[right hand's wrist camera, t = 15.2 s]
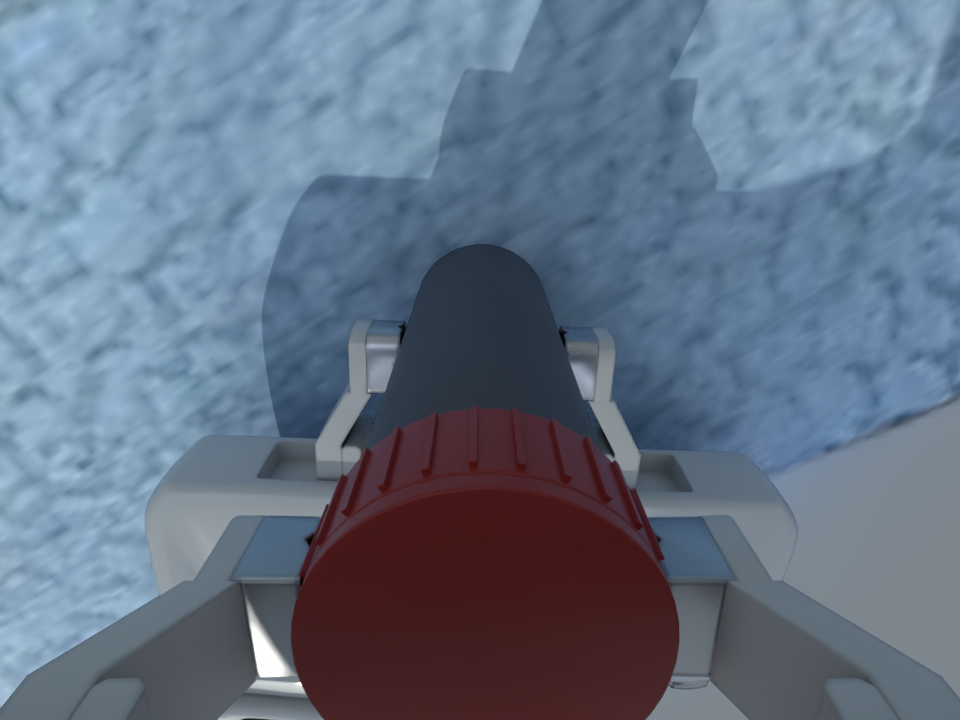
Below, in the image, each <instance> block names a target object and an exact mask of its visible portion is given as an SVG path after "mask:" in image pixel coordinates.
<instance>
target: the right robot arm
mask: <svg viewBox="0 0 960 720" xmlns="http://www.w3.org/2000/svg"><path fill="white" fill-rule="evenodd" d="M320 520H321V517H317V516H270V515H268V516H265V515H238V516H236V517H234V518H232V519H231V521H230V522H229V524H228V525H227V527H226V529H225V530H224V532H223V534H222V535H221V537H220V538H219V540H218V542H217V543H216V545H215V546H214V548H213V550H212V551H211V553H210V555H209V556H208V558H207V559H206V561H205V563H204V564H203V566H202V567H201V569H200V571H199V572H198V574H197V576H196V577H195V579H194V580H193V581H183V582H181V583H180V584H178V585H176V586H175V587H173V588H171V589H170V590H168V591H166V592H165V593H163V594H161V595H160V596H158V597H156V598H155V599H153V600H151V601H150V602H148V603H146V604H145V605H143V606H141V607H140V608H138V609H137V610H135V611H133V612H132V613H130V614H128V615H127V616H125V617H123V618H122V619H120V620H118V621H117V622H115V623H113V624H112V625H110V626H108V627H107V628H105V629H103V630H102V631H100V632H98V633H97V634H95V635H93V636H92V637H90V638H88V639H87V640H85V641H84V642H82V643H80V644H79V645H77V646H75V647H74V648H72V649H70V650H69V651H67V652H65V653H64V654H62V655H60V656H59V657H57V658H55V659H54V660H52V661H50V662H49V663H47V664H45V665H44V666H42V667H40V668H39V669H37V670H35V671H34V672H32V673H31V674H29V675H27V676H26V678H25V679H24V680H23V681H22V683H21V684H20V685H19V686H18V687H17V689H16V690H15V691H14V692H13V694H12V695H11V696H10V697H9V699H8V700H7V701H6V702H5V704H4V705H3V706H2V707H1V708H0V720H217V719H218V718H219V717H220V716H221V715H222V714H223V713H224V712H225V711H226V710H227V709H228V708H229V707H230V706H231V705H232V704H233V703H234V702H235V701H236V700H237V699H238V698H239V697H240V696H241V695H242V694H243V693H244V692H245V691H246V690H247V689H248V688H249V687H250V686H251V685H252V684H253V683H254V682H255V681H256V677H284V676H298V675H297V672H296V669H295V665H294V661H293V654H292V648H291V621H292V616H293V611H294V606H295V602H296V599H297V597H298V594H299V591H300V589H301V586H302V583H303V581H304V578H301V576H299V574H300V571H301V568H302V566H303V563H304V561H305V558H306V555H307V553H308V550H309V548H310V545H311V543H312V540H313V538H314V535H315V532H316V530H317V527H318V525H319V522H320ZM648 520H649V522H650V524H651V527H652V529H653V532H654V534H655V536H656V539H657V541H658V544H659V546H660V548H661V551H662V553H663V556H664V558H665V559H664V560H662V561H659V562H660V564H661V567H662V569H663V572H664V574H665V577H666V579H667V582H668V584H669V587H670V589H671V592H672V595H673V597H674V600H675V603H676V608H677V613H678V618H679V635H680V642H679V649H678V656H677V662H676V665H675V668H674V671H673V675H672V676H680V677H710V681H711V682H712V683H713V684H714V685H715V686H716V687H717V688H718V689H719V690H720V691H721V692H722V693H723V694H724V695H725V696H726V697H727V698H728V699H729V700H730V701H731V702H732V703H733V704H734V705H735V706H736V707H737V708H738V709H739V710H740V711H741V712H742V713H743V714H744V715H745V716H746V717H747V718H748V719H749V720H960V698H959V697H958V696H957V694H956V693H955V692H954V691H953V689H952V688H951V687H950V686H949V685H948V683H947V682H946V681H945V680H944V678H943V677H942V676H940V675H939V674H937V673H935V672H934V671H932V670H930V669H929V668H927V667H925V666H924V665H922V664H920V663H919V662H917V661H915V660H914V659H912V658H910V657H909V656H907V655H905V654H904V653H902V652H900V651H898V650H897V649H895V648H894V647H892V646H890V645H888V644H887V643H885V642H884V641H882V640H880V639H879V638H877V637H875V636H873V635H872V634H870V633H869V632H867V631H865V630H864V629H862V628H860V627H859V626H857V625H855V624H854V623H852V622H850V621H849V620H847V619H845V618H843V617H842V616H840V615H839V614H837V613H835V612H833V611H832V610H830V609H829V608H827V607H825V606H823V605H822V604H820V603H819V602H817V601H815V600H813V599H812V598H810V597H809V596H807V595H805V594H804V593H802V592H800V591H799V590H797V589H795V588H794V587H792V586H790V585H789V584H787V583H785V582H784V581H773V580H772V578H771V577H770V575H769V574H768V572H767V570H766V569H765V567H764V566H763V564H762V563H761V561H760V560H759V558H758V556H757V555H756V553H755V552H754V550H753V549H752V547H751V545H750V544H749V542H748V541H747V539H746V538H745V536H744V534H743V533H742V531H741V530H740V528H739V527H738V525H737V524H736V522H735V520H734V519H733V518H732V517H730V516H729V515H711V516H697V517H648Z"/></svg>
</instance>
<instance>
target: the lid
mask: <svg viewBox="0 0 960 720" xmlns="http://www.w3.org/2000/svg"><path fill="white" fill-rule="evenodd" d="M664 559H665V558H664V556H663V553H662V551H661V548H660V546H659V544H658V541H657V539H656V536H655V534H654V532H653V529H652V527H651V524H650V522H649V520H648V517H647V515H646V512H645V510H644V508H643V505H642V503H641V500H640V498H639V495H638V493H637V491H636V489H632V490H630V488H629V486H628V485H627V483H626V480H625V478H624V475H623V473H622V470H621V468H620V465H619V463H618V462H617V461H616V460H614V461H613V462H611V461H610V459H609V458H608V457H607V456H605V455H604V454H603V453H602V452H601V451H600V450H599V449H598V448H597V447H596V446H595V445H594V443H593V440H592V439H591V438H590V437H588V436H586V438H583V437H582V436H580V435H579V434H578V433H576V432H574V431H572V430H570V429H568V428H566V427H564V426H562V425H560V424H559V422H558V420H556V419H553V418H552V419H551V421H550V420H547V419H545V418H542V417H539V416H536V415H531V414H527V413H523V412H519V409H515V408H512V410H503V409H478V407H477V406H473V407H470V409H466V410H458V411H450V412H446V413H442V414H438V415H437V413H436V412H435V413H431V414H430V416H429V417H427V418H424V419H422V420H419V421H416V422H414V423H411V424H409V425H407V426H405V427H403V428H401V429H400V428H399V426H398V427H396V428H394V429H393V431H392V434H390V435H388V436H387V437H385V438H384V439H383V440H381V441H380V442H378V443H377V444H376V445H374V446H373V447H372V448H371V449H370V450H369V449H368V448H365V449H364V450H363V451H362V453H361V456H360V459H359V460H358V461H357V462H356V464H355V465H354V466H353V468H352V469H351V470H350V471H349V473H348V474H347V475H346V476H345V475H343V474H342V475H341V476H340V478H339V480H338V483H337V485H336V488H335V490H334V493H333V496H332V498H331V501H330V504H326V507H325V509H324V512H323V514H322V517H321V520H320V522H319V525H318V527H317V530H316V532H315V535H314V538H313V540H312V543H311V545H310V548H309V550H308V553H307V555H306V558H305V561H304V563H303V566H302V568H301V571H300V574H299V576H301V578H304V581H303V583H302V586H301V589H300V591H299V594H298V597H297V599H296V602H295V606H294V611H293V616H292V621H291V648H292V654H293V661H294V665H295V669H296V672H297V675H298V678H299V681H300V683H301V685H302V687H303V689H304V691H305V693H306V695H307V697H308V699H309V701H310V702H311V703H312V705H313V706H314V708H315V709H316V710H317V712H318V713H319V715H320V716H321V717H322V718H323V719H324V720H645V719H646V718H647V717H648V716H649V715H650V714H651V713H652V711H653V710H654V708H655V707H656V705H657V704H658V703H659V701H660V700H661V698H662V697H663V695H664V693H665V691H666V689H667V687H668V685H669V683H670V681H671V678H672V675H673V671H674V668H675V665H676V662H677V656H678V649H679V642H680V635H679V618H678V613H677V608H676V603H675V600H674V597H673V595H672V592H671V589H670V587H669V584H668V582H667V579H666V577H665V574H664V572H663V569H662V567H661V564H660V562H659V561H662V560H664Z"/></svg>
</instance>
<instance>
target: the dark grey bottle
mask: <svg viewBox="0 0 960 720" xmlns="http://www.w3.org/2000/svg"><path fill="white" fill-rule="evenodd" d="M473 406H477V407H478V409H503V410H512V408H515V409H519V412H523V413H527V414H531V415H536V416H539V417H542V418H545V419H547V420H550V421H551V419H552V418H553V419H556V420H558V422H559V424H560V425H562V426H564V427H566V428H568V429H570V430H572V431H574V432H576V433H578V434H579V435H580V436H582V437H583V438H586V436H588V437H590V438H591V439H592V440H593V443H594V445H595V446H596V447H597V448H598V449H599V450H600V451H601V452H602V450H601V447H600V444H599V442H598V439H597V436H596V433H595V431H594V428H593V425H592V422H591V420H590V417H589V414H588V411H587V409H586V406H585V403H584V400H583V398H582V395H581V392H580V389H579V386H578V384H577V381H576V378H575V375H574V373H573V370H572V367H571V364H570V362H569V359H568V356H567V353H566V351H565V348H564V345H563V342H562V340H561V337H560V334H559V331H558V329H557V326H556V323H555V320H554V318H553V315H552V312H551V309H550V307H549V304H548V301H547V298H546V296H545V293H544V290H543V287H542V285H541V282H540V280H539V278H538V276H537V275H536V273H535V272H534V270H533V269H532V268H531V266H530V265H529V264H528V263H527V262H526V261H525V260H523V259H522V258H521V257H519V256H518V255H516V254H515V253H513V252H511V251H509V250H506V249H504V248H501V247H497V246H493V245H470V246H465V247H462V248H459V249H456V250H454V251H452V252H450V253H448V254H446V255H445V256H443V257H442V258H441V259H439V260H438V261H437V262H436V263H435V264H434V265H433V266H432V267H431V268H430V270H429V271H428V273H427V274H426V276H425V277H424V279H423V281H422V284H421V286H420V289H419V292H418V295H417V298H416V301H415V304H414V307H413V310H412V313H411V316H410V319H409V322H408V325H407V327H406V330H405V333H404V336H403V339H402V342H401V345H400V348H399V351H398V354H397V357H396V360H395V363H394V366H393V369H392V372H391V375H390V378H389V381H388V384H387V387H386V390H385V393H384V396H383V399H382V402H381V405H380V408H379V411H378V414H377V417H376V419H375V422H374V425H373V428H372V431H371V434H370V437H369V440H368V443H367V446H366V448H368V449H369V450H370V449H371V448H372V447H373V446H374V445H376V444H377V443H378V442H380V441H381V440H383V439H384V438H385V437H387V436H388V435H390V434H392V431H393V429H394V428H396V427H398V426H399V428H400V429H401V428H403V427H405V426H407V425H409V424H411V423H414V422H416V421H419V420H422V419H424V418H427V417H429V416H430V414H431V413H435V412H436V413H437V415H438V414H442V413H446V412H450V411H458V410H466V409H470V407H473Z"/></svg>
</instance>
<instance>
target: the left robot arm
mask: <svg viewBox="0 0 960 720" xmlns="http://www.w3.org/2000/svg"><path fill="white" fill-rule="evenodd" d="M405 330H406V324H405V321H385V320H373V319H357V320H356V322H355V323H354V325H353V327H352V329H351V330H350V336H349V346H348V351H349V376H350V381H349V383H348V385H347V386H346V388H345V390H344V392H343V393H342V395H341V397H340V398H339V400H338V402H337V403H336V405H335V407H334V408H333V410H332V412H331V413H330V415H329V417H328V419H327V421H326V423H325V425H324V427H323V429H322V431H321V433H320V435H319V437H318V438H291V437H260V436H232V435H209V436H205V437H203V438H201V439H200V440H198V441H197V442H196V443H195V444H194V445H193V446H192V447H191V448H190V449H189V450H188V451H187V452H186V453H185V454H184V455H183V456H182V457H181V458H180V459H179V460H178V461H177V462H176V463H175V464H174V465H173V466H172V467H171V468H170V470H169V471H168V472H167V473H166V475H165V476H164V477H163V479H162V480H161V481H160V483H159V484H158V485H157V487H156V488H155V490H154V491H153V493H152V495H151V497H150V499H149V501H148V504H147V507H146V511H145V530H146V537H147V543H148V548H149V553H150V558H151V562H152V567H153V571H154V575H155V579H156V583H157V587H158V591H159V594H160V595H161V594H163V593H165V592H166V591H168V590H170V589H171V588H173V587H175V586H176V585H178V584H180V583H181V582H183V581H193V580H194V579H195V577H196V576H197V574H198V572H199V571H200V569H201V567H202V566H203V564H204V563H205V561H206V559H207V558H208V556H209V555H210V553H211V551H212V550H213V548H214V546H215V545H216V543H217V542H218V540H219V538H220V537H221V535H222V534H223V532H224V530H225V529H226V527H227V525H228V524H229V522H230V521H231V519H232V518H234V517H236V516H238V515H265V516H268V515H270V516H317V517H322V514H323V512H324V509H325V507H326V504H330V501H331V498H332V496H333V493H334V490H335V488H336V485H337V483H338V480H339V478H340V476H341V475H342V474H343V475H345V476H346V475H347V474H348V473H349V471H350V470H351V469H352V468H353V466H354V465H355V464H356V462H357V461H358V460H359V459H360V456H361V453H362V451H363V450H364V449H365V448H366V446H367V443H368V440H369V437H370V434H371V431H372V418H371V417H370V416H365V415H360V413H361V411H362V410H363V408H364V406H365V405H366V403H367V401H368V400H369V398H370V396H371V395H372V393H385V390H386V387H387V384H388V381H389V378H390V375H391V372H392V369H393V366H394V363H395V360H396V357H397V354H398V351H399V348H400V345H401V342H402V339H403V336H404V333H405ZM559 334H560V337H561V340H562V342H563V345H564V348H565V351H566V353H567V356H568V359H569V362H570V364H571V367H572V370H573V373H574V375H575V378H576V381H577V384H578V386H579V389H580V392H581V395H582V398H583V400H588V402H589V404H590V406H591V408H592V410H593V412H594V413H595V415H596V417H597V419H598V421H599V423H600V424H599V423H592V425H593V428H594V431H595V433H596V436H597V439H598V442H599V444H600V447H601V450H602V453H603V454H604V455H605V456H607V457H608V458H609V459H610V461H611V462H613V461H614V460H616V461H617V462H618V463H619V465H620V468H621V470H622V473H623V475H624V478H625V480H626V483H627V485H628V486H629V488H630V490H632V489H636V491H637V493H638V495H639V498H640V500H641V503H642V505H643V508H644V510H645V512H646V515H647V517H697V516H711V515H729V516H730V517H732V518H733V519H734V520H735V522H736V524H737V525H738V527H739V528H740V530H741V531H742V533H743V534H744V536H745V538H746V539H747V541H748V542H749V544H750V545H751V547H752V549H753V550H754V552H755V553H756V555H757V556H758V558H759V560H760V561H761V563H762V564H763V566H764V567H765V569H766V570H767V572H768V574H769V575H770V577H771V578H772V580H773V581H783V579H784V576H785V574H786V571H787V568H788V566H789V563H790V560H791V557H792V555H793V552H794V548H795V544H796V541H797V534H798V528H797V523H796V520H795V518H794V515H793V513H792V511H791V510H790V508H789V506H788V504H787V503H786V501H785V500H784V498H783V497H782V496H781V494H780V493H779V491H778V490H777V488H776V487H775V486H774V484H773V483H772V482H771V481H770V480H769V478H768V477H767V476H766V475H765V474H764V473H763V472H762V471H761V470H760V469H759V468H758V466H757V465H756V464H755V463H754V462H753V461H752V460H751V459H750V458H749V457H747V456H745V455H744V454H741V453H736V452H718V451H686V450H655V449H638V448H637V446H636V444H635V442H634V440H633V437H632V435H631V433H630V431H629V429H628V427H627V425H626V422H625V420H624V418H623V416H622V414H621V412H620V410H619V408H618V406H617V404H616V402H615V400H614V398H613V396H612V394H611V392H612V383H613V375H614V367H615V359H616V346H615V339H614V338H613V336H612V334H611V333H610V331H609V329H608V328H594V327H560V329H559ZM709 679H710V677H680V676H672V678H671V681H670V683H669V685H668V686H670V687H671V688H676V689H697V688H702V687H705V686H707V684H708V681H709ZM217 720H324V719H323V718H322V717H321V716H320V715H319V713H318V712H317V710H316V709H315V708H314V706H313V705H312V703H311V702H310V701H309V699H308V697H307V695H306V693H305V691H304V689H303V687H302V685H301V683H300V681H299V678H298V676H284V677H256V681H255V682H254V683H253V684H252V685H251V686H250V687H249V688H248V689H247V690H246V691H245V692H244V693H243V694H242V695H241V696H240V697H239V698H238V699H237V700H236V701H235V702H234V703H233V704H232V705H231V706H230V707H229V708H228V709H227V710H226V711H225V712H224V713H223V714H222V715H221V716H220V717H219V718H218V719H217Z"/></svg>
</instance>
